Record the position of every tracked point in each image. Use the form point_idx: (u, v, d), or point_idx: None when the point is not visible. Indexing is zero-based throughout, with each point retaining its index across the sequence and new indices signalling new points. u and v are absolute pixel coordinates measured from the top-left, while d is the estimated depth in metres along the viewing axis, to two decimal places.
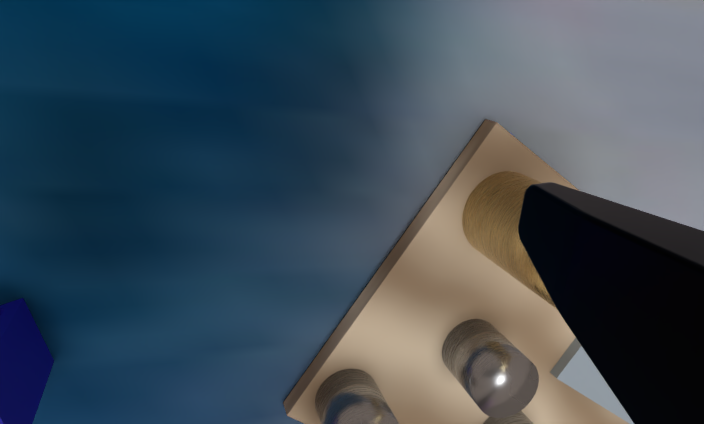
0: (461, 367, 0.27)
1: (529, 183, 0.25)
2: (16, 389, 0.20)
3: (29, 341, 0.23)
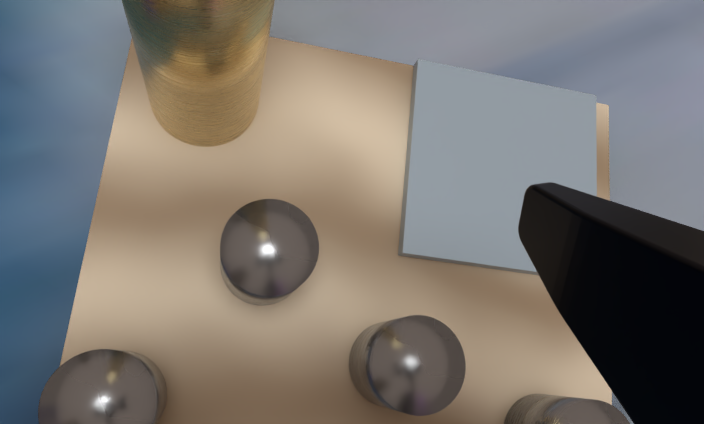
0: (221, 266, 0.19)
1: None
2: None
3: None
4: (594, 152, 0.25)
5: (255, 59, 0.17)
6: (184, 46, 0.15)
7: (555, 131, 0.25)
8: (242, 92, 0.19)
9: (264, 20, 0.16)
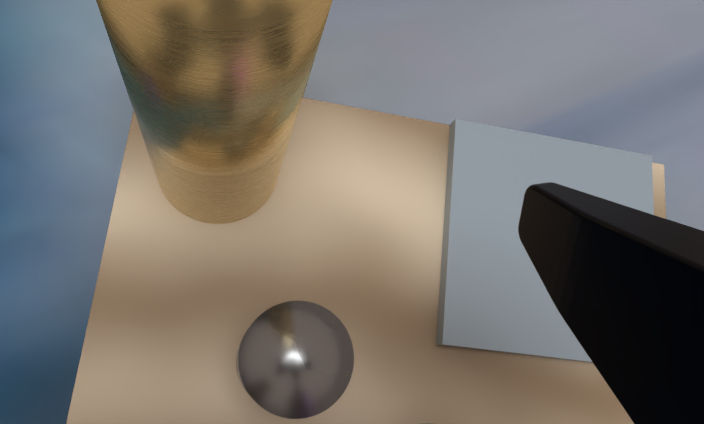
0: (239, 375, 0.17)
1: None
2: None
3: None
4: None
5: (281, 144, 0.15)
6: (201, 143, 0.12)
7: (608, 197, 0.22)
8: (264, 176, 0.16)
9: (295, 107, 0.13)
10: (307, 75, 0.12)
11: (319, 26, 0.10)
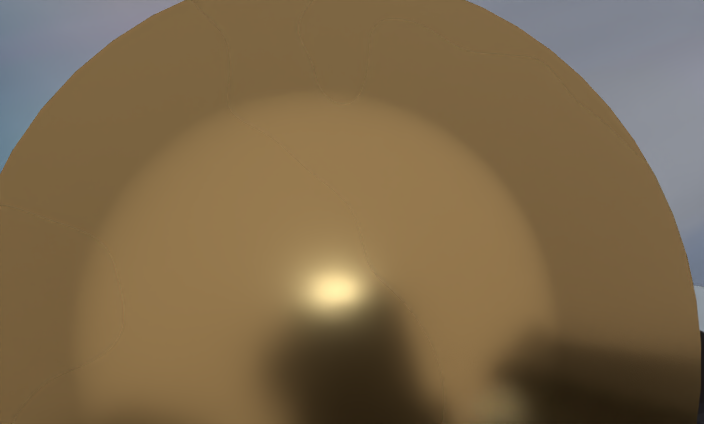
0: None
1: None
2: None
3: None
4: None
5: None
6: None
7: None
8: None
9: None
10: None
11: None
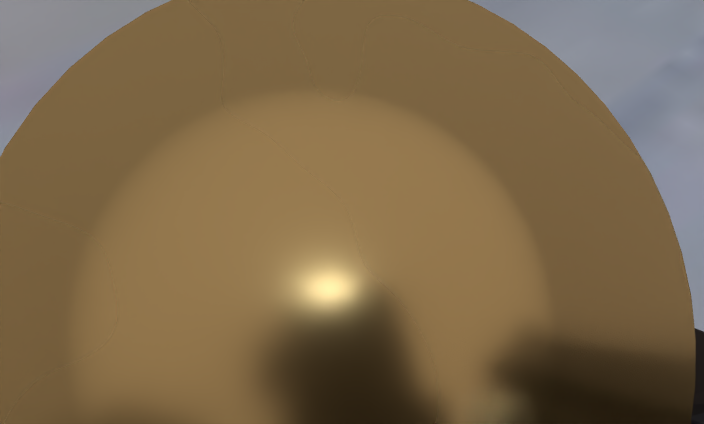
0: None
1: None
2: None
3: None
4: None
5: None
6: None
7: None
8: None
9: None
10: None
11: None
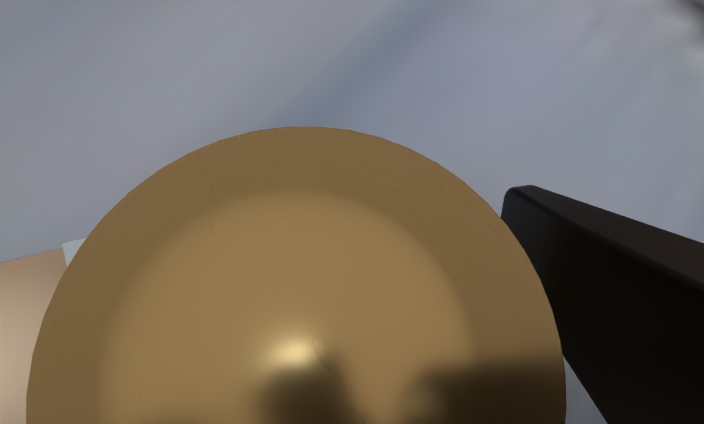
0: None
1: None
2: None
3: None
4: None
5: None
6: None
7: None
8: None
9: None
10: None
11: None
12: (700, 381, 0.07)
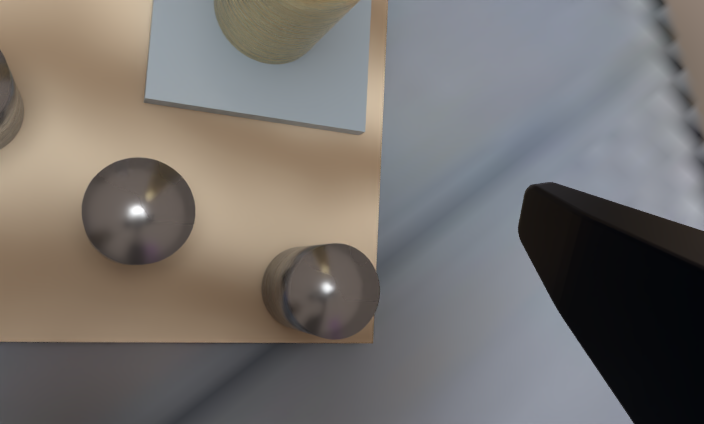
0: None
1: None
2: None
3: None
4: None
5: None
6: None
7: None
8: (326, 22, 0.18)
9: None
10: None
11: None
12: None
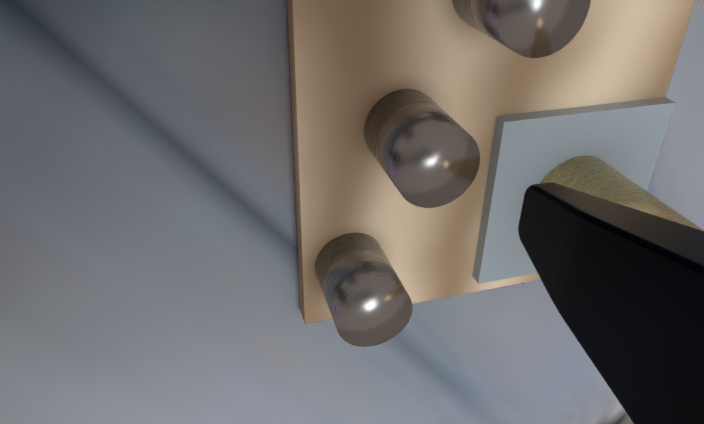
0: None
1: None
2: None
3: None
4: None
5: None
6: None
7: None
8: None
9: None
10: None
11: None
12: None
